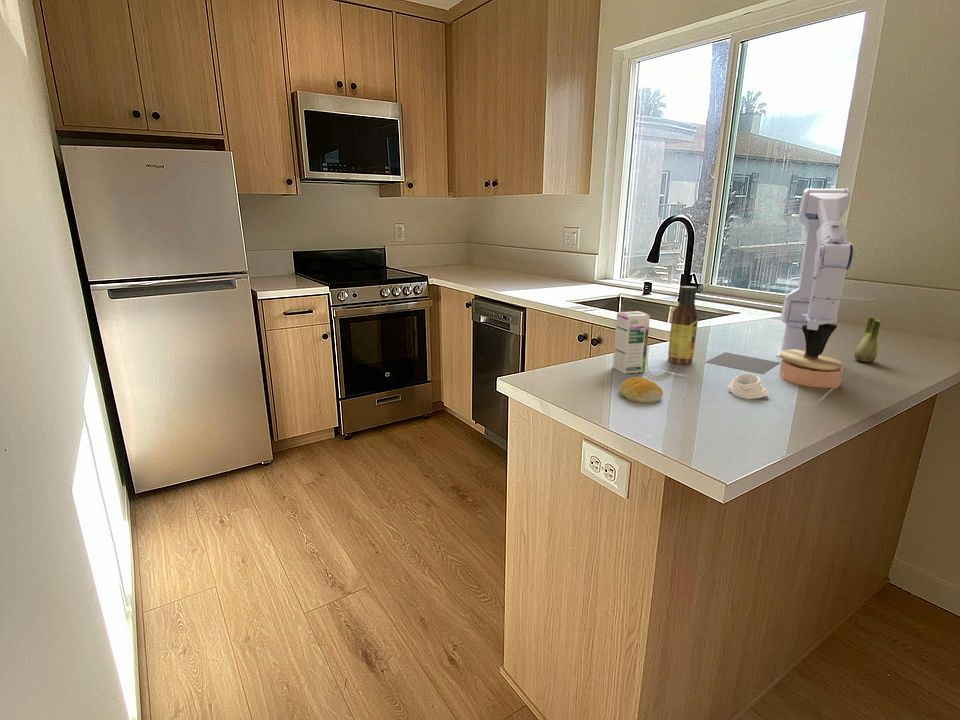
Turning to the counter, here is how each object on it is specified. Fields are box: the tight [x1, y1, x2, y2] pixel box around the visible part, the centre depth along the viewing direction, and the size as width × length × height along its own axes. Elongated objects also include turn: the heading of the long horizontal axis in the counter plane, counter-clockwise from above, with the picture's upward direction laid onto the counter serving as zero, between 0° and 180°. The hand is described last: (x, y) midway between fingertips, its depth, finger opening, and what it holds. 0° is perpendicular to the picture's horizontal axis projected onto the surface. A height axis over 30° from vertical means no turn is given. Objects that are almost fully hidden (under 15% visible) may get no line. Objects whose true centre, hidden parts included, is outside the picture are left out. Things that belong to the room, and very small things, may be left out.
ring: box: [779, 359, 844, 390], centre depth 123 cm, size 12×12×4 cm
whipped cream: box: [726, 372, 770, 400], centre depth 114 cm, size 8×7×5 cm
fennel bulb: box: [853, 316, 882, 363], centre depth 139 cm, size 6×5×12 cm
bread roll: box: [619, 376, 664, 404], centre depth 112 cm, size 8×9×4 cm
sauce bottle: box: [667, 285, 699, 366], centre depth 134 cm, size 6×6×20 cm
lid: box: [779, 349, 843, 370], centre depth 122 cm, size 13×13×4 cm
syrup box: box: [612, 310, 651, 375], centre depth 128 cm, size 6×6×14 cm
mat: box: [705, 352, 781, 375], centre depth 137 cm, size 14×14×1 cm
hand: (813, 355), depth 122 cm, fingers closed on lid, 3 cm apart
